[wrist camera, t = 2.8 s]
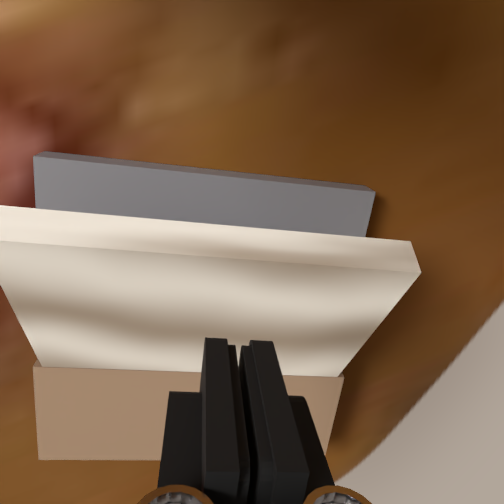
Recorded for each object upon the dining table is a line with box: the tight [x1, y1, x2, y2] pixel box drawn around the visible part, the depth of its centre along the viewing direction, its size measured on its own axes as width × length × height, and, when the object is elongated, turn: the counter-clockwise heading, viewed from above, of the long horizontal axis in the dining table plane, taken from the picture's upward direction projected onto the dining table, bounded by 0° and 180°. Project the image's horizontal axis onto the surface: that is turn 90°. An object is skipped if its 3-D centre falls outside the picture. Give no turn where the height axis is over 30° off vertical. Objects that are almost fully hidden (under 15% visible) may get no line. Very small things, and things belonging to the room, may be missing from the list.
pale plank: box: [0, 205, 421, 377], centre depth 19 cm, size 10×15×2 cm, turn 82°
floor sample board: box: [33, 151, 376, 460], centre depth 23 cm, size 16×16×3 cm
